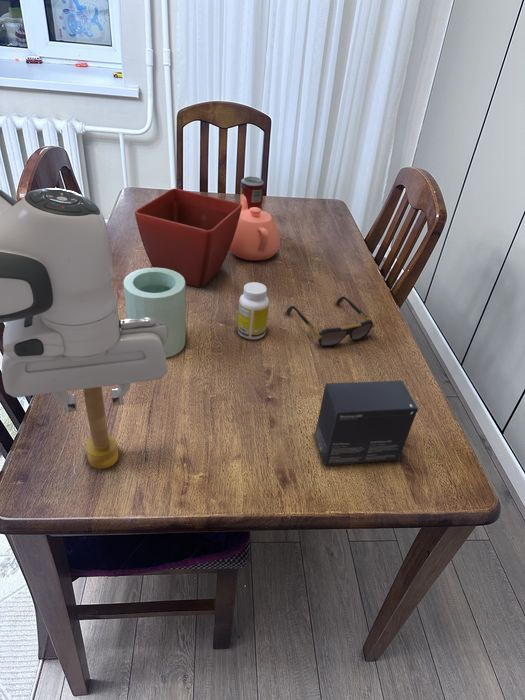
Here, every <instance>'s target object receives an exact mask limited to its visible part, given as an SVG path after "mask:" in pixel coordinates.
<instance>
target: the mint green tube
mask: <svg viewBox="0 0 525 700" xmlns="http://www.w3.org/2000/svg"><path fill="white" fill-rule="evenodd" d="M122 282H123V283H122V285H123V293H124V304H125V306H124V307H125V315H126V320H129V319H134V320H135V319H145V318H155V320H159V321H162V322H163V323H165V324H166V326H167V329H168V339H167V341H166V343H165V344H164V345H163V347H164V351H165V356H166V359H167V358H170V357H174V356H176V355H177V354H179V353H180V352H181V351H182V350H183V349H184V348H185V345H186V336H187V335H186V332H187V331H186V330H187V329H186V328H187V327H186V325H187V323H186V315H187V314H186V311H187V310H186V306H187V305H186V284H185V280H184V277H183V276H182V275H180V274H179V273H177V272H175V271H173V270H170V269H166V268H153V267H144V268H140V269H137V270H133V271H132V272H130V273H129V274H128V275H126V276H125V277H124V279H123V281H122ZM156 324H158V323H156Z"/></svg>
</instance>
